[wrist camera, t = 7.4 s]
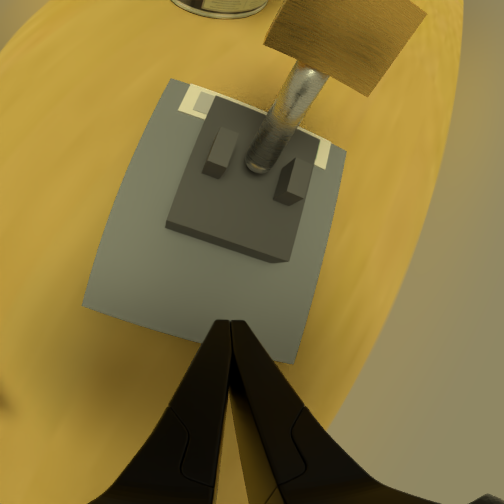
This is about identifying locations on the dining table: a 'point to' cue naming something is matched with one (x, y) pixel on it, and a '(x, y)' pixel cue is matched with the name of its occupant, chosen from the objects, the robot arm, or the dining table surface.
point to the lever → (328, 58)
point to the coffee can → (222, 7)
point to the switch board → (195, 267)
